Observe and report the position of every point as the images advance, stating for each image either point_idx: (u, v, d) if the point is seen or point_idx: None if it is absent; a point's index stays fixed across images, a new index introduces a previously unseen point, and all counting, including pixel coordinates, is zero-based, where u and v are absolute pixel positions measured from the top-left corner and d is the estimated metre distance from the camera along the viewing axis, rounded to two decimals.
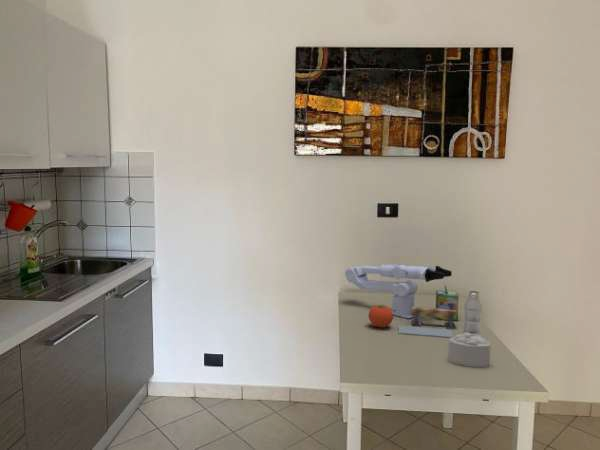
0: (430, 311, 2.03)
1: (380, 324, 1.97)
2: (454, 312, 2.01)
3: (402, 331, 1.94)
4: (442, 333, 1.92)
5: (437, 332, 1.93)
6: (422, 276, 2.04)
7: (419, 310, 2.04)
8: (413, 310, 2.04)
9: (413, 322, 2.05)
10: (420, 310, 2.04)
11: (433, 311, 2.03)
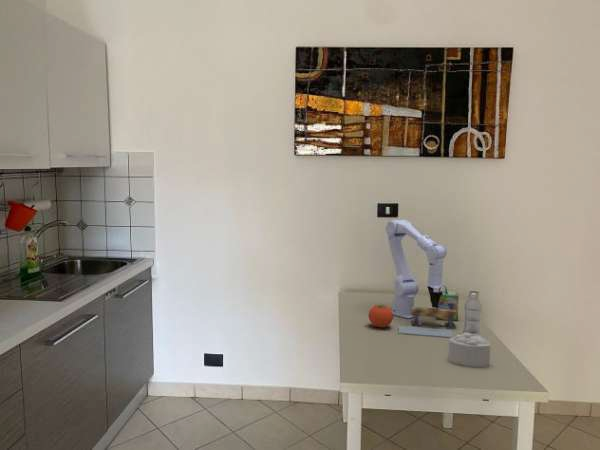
0: (430, 311, 2.03)
1: (380, 324, 1.97)
2: (454, 312, 2.01)
3: (402, 331, 1.94)
4: (442, 333, 1.92)
5: (437, 332, 1.93)
6: (435, 290, 1.96)
7: (419, 310, 2.04)
8: (413, 310, 2.04)
9: (413, 322, 2.05)
10: (420, 310, 2.04)
11: (433, 311, 2.03)
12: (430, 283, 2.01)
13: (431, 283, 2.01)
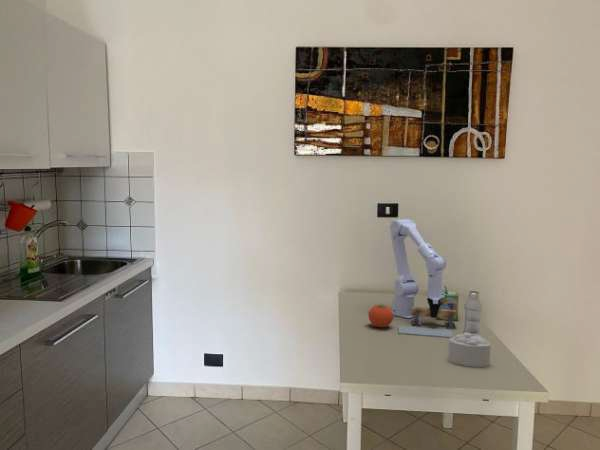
0: None
1: (380, 324, 1.97)
2: (454, 312, 2.01)
3: (402, 331, 1.94)
4: (442, 333, 1.92)
5: (437, 332, 1.93)
6: (435, 302, 1.96)
7: (419, 310, 2.04)
8: (413, 310, 2.04)
9: (413, 322, 2.05)
10: (420, 310, 2.04)
11: None
12: (429, 294, 2.02)
13: (430, 294, 2.01)
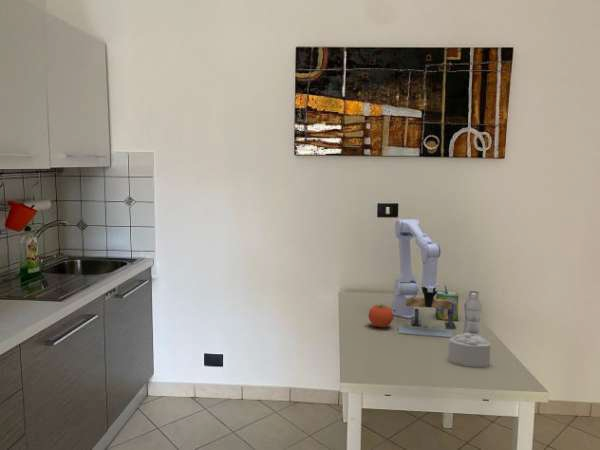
0: None
1: (380, 324, 1.97)
2: (450, 302, 1.93)
3: (402, 331, 1.94)
4: (442, 333, 1.92)
5: (437, 332, 1.93)
6: (429, 290, 1.88)
7: (413, 300, 1.96)
8: (407, 300, 1.96)
9: (413, 322, 2.05)
10: (414, 300, 1.96)
11: None
12: (424, 283, 1.94)
13: (425, 283, 1.93)
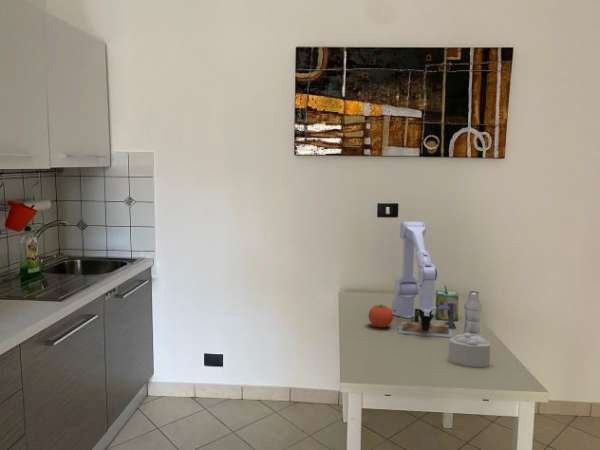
0: (421, 326, 1.93)
1: (380, 324, 1.97)
2: (446, 327, 1.91)
3: (402, 331, 1.94)
4: None
5: None
6: (426, 314, 1.87)
7: (410, 325, 1.94)
8: (404, 325, 1.95)
9: None
10: (411, 325, 1.94)
11: None
12: (421, 306, 1.92)
13: (422, 306, 1.92)
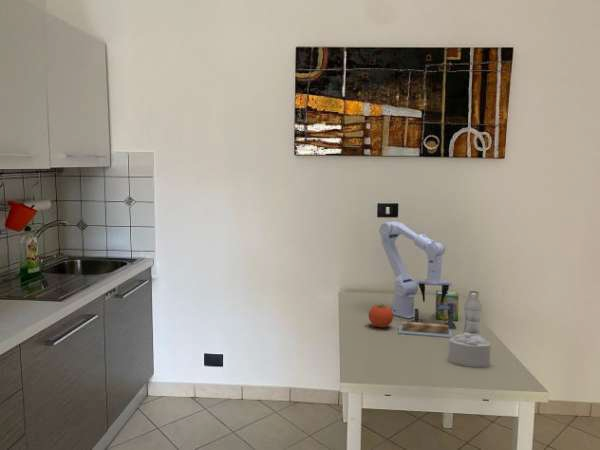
0: (421, 326, 1.93)
1: (380, 324, 1.97)
2: (446, 327, 1.91)
3: (402, 331, 1.94)
4: None
5: None
6: (416, 282, 2.08)
7: (410, 325, 1.94)
8: (404, 325, 1.95)
9: None
10: (411, 325, 1.94)
11: (425, 326, 1.93)
12: None
13: None
